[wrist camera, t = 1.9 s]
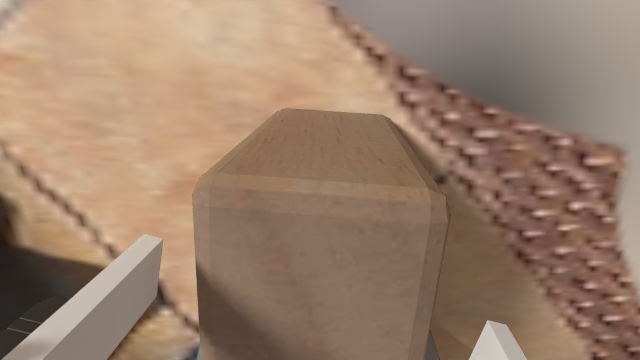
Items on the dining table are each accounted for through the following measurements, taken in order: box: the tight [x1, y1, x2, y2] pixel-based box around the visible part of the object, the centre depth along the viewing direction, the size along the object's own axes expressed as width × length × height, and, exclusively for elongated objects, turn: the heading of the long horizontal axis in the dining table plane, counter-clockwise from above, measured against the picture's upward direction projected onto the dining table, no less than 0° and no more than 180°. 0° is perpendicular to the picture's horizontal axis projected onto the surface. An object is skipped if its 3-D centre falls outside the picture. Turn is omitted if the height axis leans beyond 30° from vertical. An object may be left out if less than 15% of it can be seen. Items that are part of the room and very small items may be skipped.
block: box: [192, 108, 451, 360], centre depth 24 cm, size 10×10×20 cm
